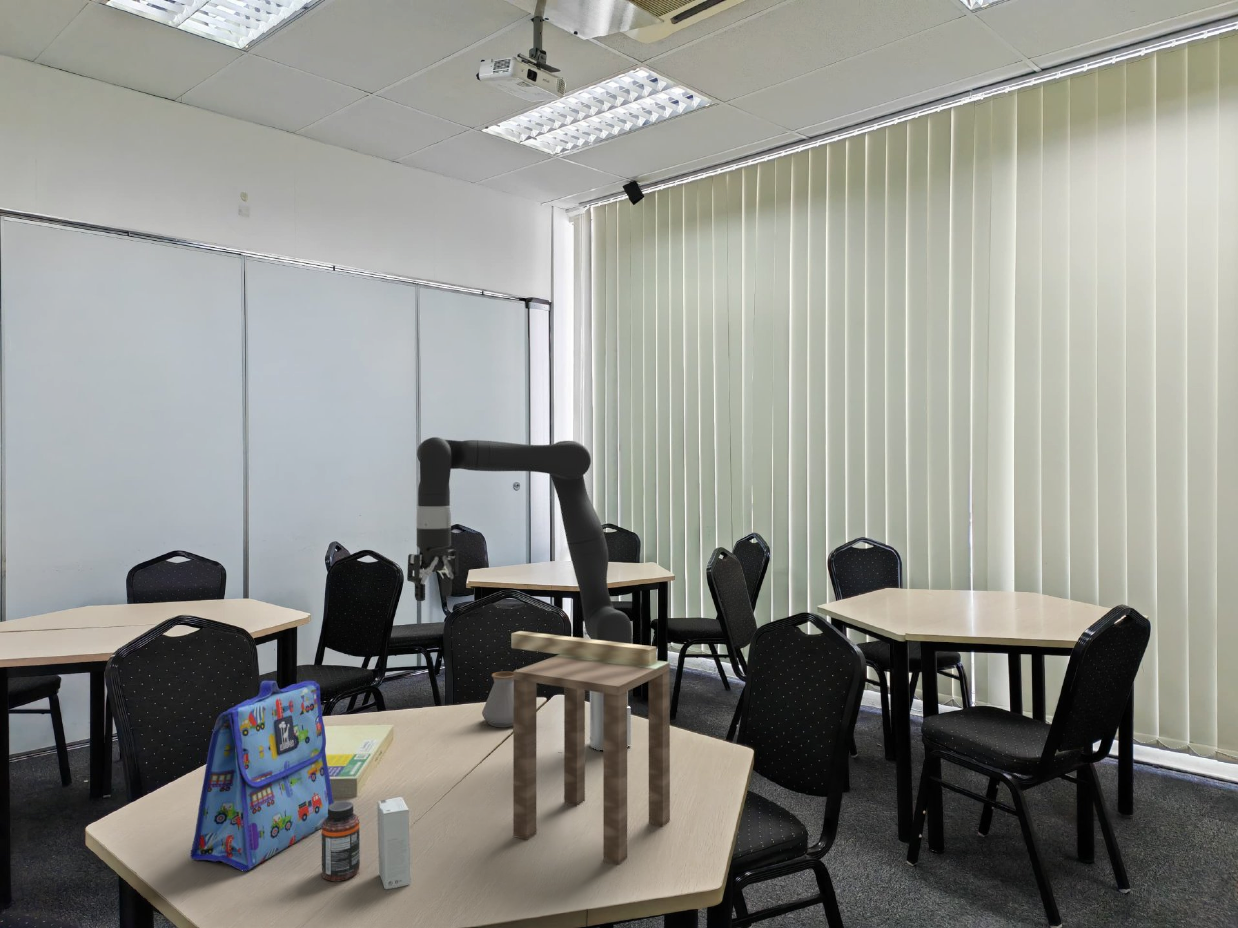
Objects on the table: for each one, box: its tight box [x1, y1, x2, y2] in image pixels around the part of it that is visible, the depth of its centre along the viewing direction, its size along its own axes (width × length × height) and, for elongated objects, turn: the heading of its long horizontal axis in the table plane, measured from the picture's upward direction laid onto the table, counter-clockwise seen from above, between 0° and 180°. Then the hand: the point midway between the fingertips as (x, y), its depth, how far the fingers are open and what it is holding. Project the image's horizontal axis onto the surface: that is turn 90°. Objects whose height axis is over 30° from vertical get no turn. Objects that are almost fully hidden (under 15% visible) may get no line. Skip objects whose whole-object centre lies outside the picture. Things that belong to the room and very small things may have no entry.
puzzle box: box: [324, 724, 395, 799], centre depth 181 cm, size 36×5×24 cm
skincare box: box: [376, 796, 412, 890], centre depth 131 cm, size 6×4×12 cm
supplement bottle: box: [321, 800, 361, 882], centre depth 133 cm, size 6×6×11 cm
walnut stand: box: [512, 654, 671, 865], centre depth 150 cm, size 22×20×30 cm
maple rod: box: [510, 630, 657, 666], centre depth 160 cm, size 32×3×3 cm, turn 61°
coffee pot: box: [481, 671, 514, 728], centre depth 214 cm, size 21×12×15 cm, turn 99°
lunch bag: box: [190, 680, 334, 872], centre depth 145 cm, size 22×14×29 cm, turn 160°
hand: (433, 598), depth 181 cm, fingers open, 8 cm apart
